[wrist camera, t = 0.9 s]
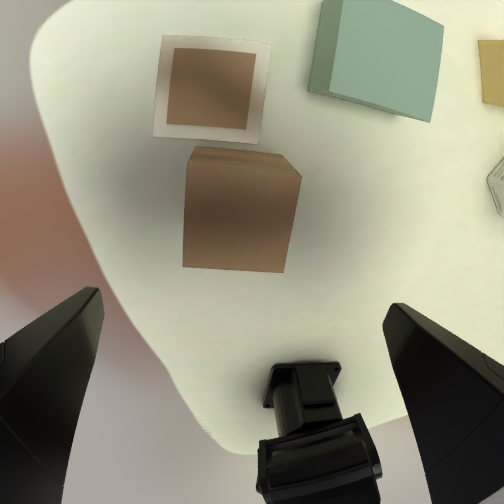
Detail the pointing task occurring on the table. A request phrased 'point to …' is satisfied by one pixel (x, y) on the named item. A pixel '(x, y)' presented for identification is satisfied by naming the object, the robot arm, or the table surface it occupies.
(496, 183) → the ink box
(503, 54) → the ochre cube
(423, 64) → the base block
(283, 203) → the walnut cube
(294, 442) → the robot arm
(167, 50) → the swatch
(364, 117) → the table surface
